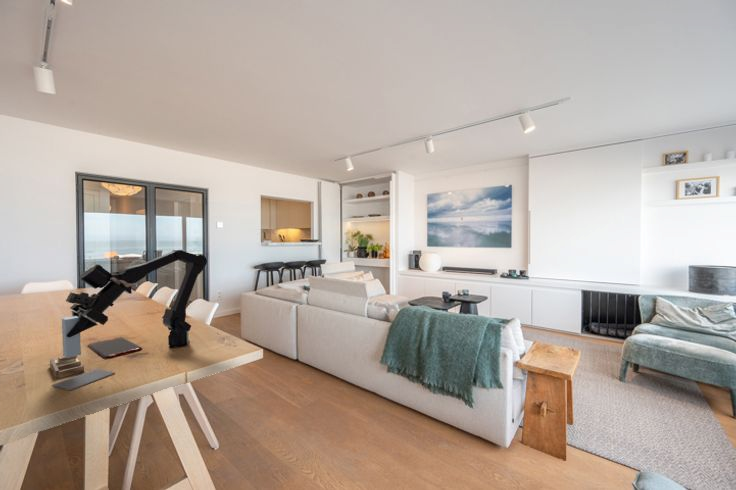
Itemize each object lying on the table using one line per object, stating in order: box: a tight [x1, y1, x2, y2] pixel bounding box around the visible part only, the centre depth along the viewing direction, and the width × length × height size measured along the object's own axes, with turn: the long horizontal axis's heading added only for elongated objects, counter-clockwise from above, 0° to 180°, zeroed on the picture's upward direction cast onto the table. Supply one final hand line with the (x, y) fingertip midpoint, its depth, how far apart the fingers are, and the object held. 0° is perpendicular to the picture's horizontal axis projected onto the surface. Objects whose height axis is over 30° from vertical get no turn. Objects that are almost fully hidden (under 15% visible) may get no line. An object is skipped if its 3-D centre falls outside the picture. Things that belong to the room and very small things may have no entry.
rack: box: [49, 358, 85, 380], centre depth 107 cm, size 7×15×2 cm, turn 51°
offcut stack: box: [54, 355, 80, 366], centre depth 110 cm, size 6×4×3 cm, turn 141°
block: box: [61, 316, 82, 358], centre depth 103 cm, size 4×4×12 cm
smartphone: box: [87, 336, 143, 360], centre depth 128 cm, size 12×2×25 cm
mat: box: [51, 368, 116, 391], centre depth 99 cm, size 12×9×1 cm
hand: (65, 335), depth 101 cm, fingers closed on block, 4 cm apart
